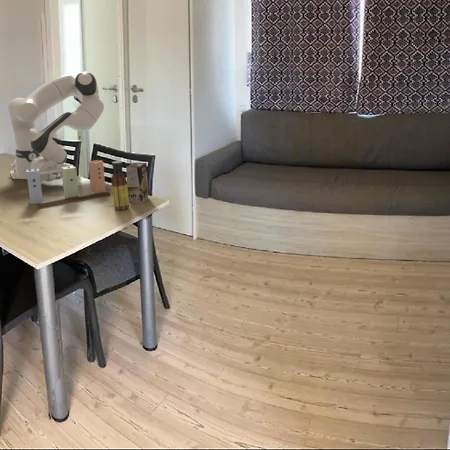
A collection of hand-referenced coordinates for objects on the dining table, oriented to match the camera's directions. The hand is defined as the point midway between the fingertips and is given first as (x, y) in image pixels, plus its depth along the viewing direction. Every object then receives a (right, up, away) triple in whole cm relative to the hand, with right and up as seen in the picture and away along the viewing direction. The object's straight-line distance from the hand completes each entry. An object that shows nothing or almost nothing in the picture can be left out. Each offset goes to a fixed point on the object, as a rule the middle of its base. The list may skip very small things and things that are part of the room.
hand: (58, 177), depth 248 cm
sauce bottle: (+32, -15, -18) cm, 39 cm away
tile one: (+9, -10, -9) cm, 16 cm away
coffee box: (+37, -11, -7) cm, 39 cm away
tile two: (-5, -12, -13) cm, 18 cm away
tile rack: (+7, -11, -7) cm, 14 cm away
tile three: (+18, -6, +2) cm, 19 cm away
